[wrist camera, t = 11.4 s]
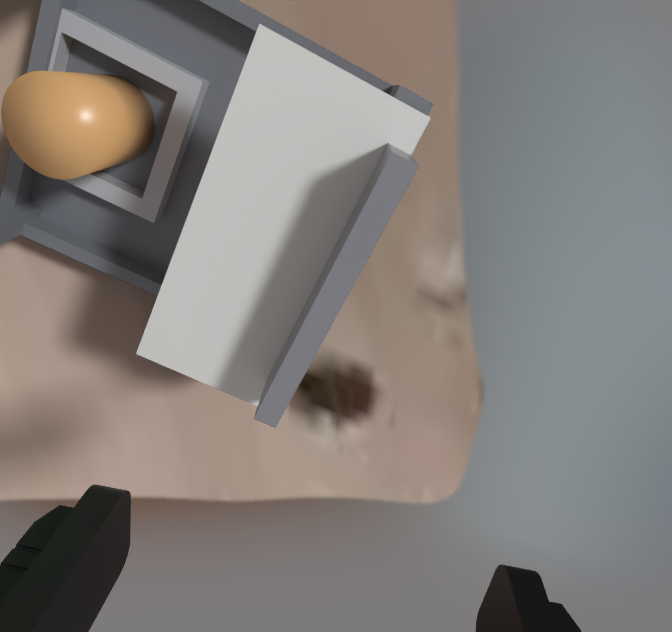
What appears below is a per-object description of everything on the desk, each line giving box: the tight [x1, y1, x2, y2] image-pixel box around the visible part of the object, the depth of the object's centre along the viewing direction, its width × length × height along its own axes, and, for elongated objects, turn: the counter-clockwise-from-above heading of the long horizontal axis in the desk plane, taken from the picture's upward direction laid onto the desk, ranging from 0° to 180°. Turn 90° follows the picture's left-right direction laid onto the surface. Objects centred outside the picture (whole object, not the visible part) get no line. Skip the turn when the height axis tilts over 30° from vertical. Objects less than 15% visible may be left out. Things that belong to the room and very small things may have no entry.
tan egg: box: [1, 71, 155, 179], centre depth 25 cm, size 4×4×6 cm
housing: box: [0, 0, 433, 296], centre depth 25 cm, size 18×16×8 cm
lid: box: [136, 24, 431, 428], centre depth 21 cm, size 7×15×4 cm, turn 154°
